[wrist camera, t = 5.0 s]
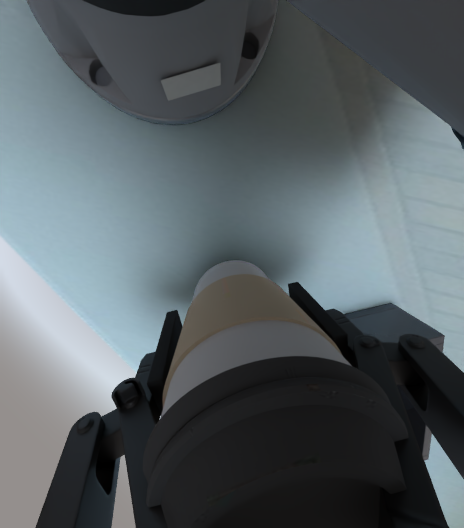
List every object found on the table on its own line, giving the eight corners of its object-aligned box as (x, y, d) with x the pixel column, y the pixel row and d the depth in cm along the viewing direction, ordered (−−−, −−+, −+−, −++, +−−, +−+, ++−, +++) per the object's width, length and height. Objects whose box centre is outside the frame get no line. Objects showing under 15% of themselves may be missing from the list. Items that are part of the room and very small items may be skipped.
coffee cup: (165, 326, 20) (76, 657, 6) (202, 230, 18) (195, 407, 4) (258, 351, 22) (352, 643, 8) (301, 269, 20) (541, 477, 6)
